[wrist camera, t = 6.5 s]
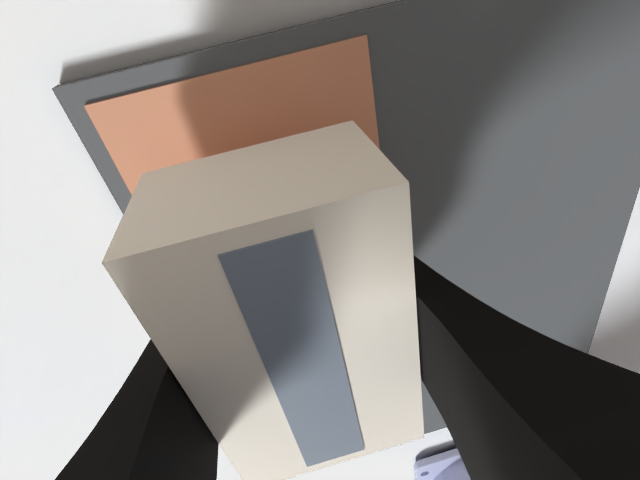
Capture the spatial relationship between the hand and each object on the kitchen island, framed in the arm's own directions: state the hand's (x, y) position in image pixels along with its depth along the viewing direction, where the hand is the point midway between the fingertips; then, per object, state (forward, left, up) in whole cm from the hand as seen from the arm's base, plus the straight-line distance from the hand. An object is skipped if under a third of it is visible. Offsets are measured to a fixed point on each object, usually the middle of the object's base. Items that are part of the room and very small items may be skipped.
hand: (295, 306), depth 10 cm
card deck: (0, 0, -1) cm, 1 cm away
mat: (-4, -4, -3) cm, 7 cm away
